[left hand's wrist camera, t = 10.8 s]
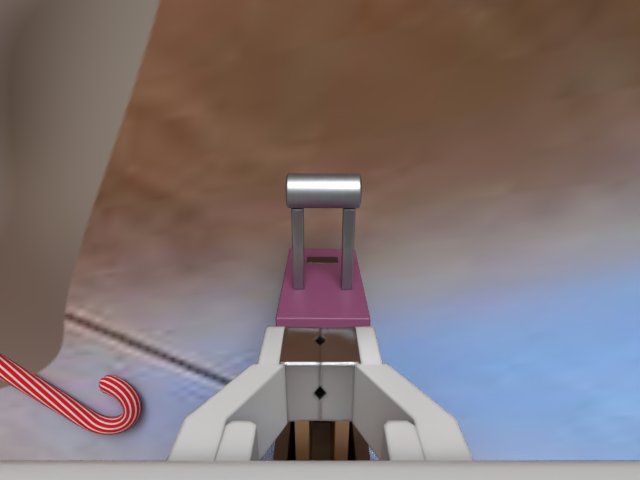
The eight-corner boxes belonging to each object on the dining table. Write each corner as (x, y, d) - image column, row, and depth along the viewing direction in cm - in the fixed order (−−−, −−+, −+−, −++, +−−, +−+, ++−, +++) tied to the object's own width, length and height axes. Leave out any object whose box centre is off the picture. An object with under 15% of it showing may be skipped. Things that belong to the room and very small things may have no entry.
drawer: (287, 156, 23) (269, 187, 15) (358, 156, 23) (378, 188, 15) (294, 417, 31) (285, 529, 23) (347, 418, 31) (357, 529, 23)
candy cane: (-8, 288, 27) (-25, 298, 26) (158, 397, 31) (150, 411, 30) (-43, 336, 29) (-62, 348, 28) (118, 435, 33) (109, 450, 31)
